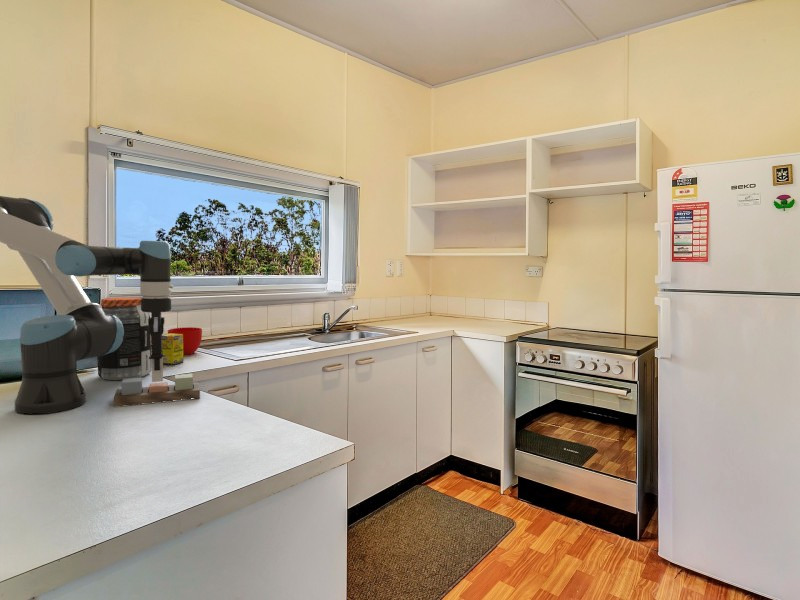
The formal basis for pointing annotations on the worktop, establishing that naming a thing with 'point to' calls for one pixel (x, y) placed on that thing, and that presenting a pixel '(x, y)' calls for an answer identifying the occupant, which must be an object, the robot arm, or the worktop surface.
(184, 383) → the sage block
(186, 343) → the ceramic cup
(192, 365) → the worktop surface
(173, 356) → the supplement box
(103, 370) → the supplement tub
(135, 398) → the wooden block tray
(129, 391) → the slate block
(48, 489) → the worktop surface
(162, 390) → the terracotta block
